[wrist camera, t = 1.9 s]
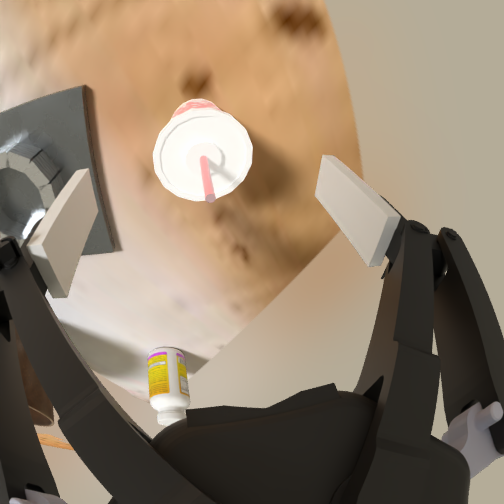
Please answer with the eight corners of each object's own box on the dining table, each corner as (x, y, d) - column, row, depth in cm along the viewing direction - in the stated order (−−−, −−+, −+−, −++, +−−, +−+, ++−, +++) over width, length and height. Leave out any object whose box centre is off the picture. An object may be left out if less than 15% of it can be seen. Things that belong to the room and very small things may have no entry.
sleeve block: (-43, 134, 14) (-61, 147, 11) (85, 84, 17) (70, 90, 15) (1, 259, 25) (-8, 278, 23) (114, 246, 29) (110, 267, 26)
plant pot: (75, 348, 40) (68, 432, 28) (12, 340, 36) (-2, 415, 24) (47, 291, 31) (23, 397, 19) (-22, 286, 26) (-53, 374, 15)
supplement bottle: (143, 359, 45) (146, 425, 36) (154, 342, 42) (157, 415, 33) (176, 365, 49) (184, 428, 39) (190, 349, 46) (199, 418, 36)
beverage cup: (186, 78, 20) (187, 105, 9) (244, 112, 23) (302, 177, 13) (150, 136, 22) (122, 223, 12) (207, 164, 25) (229, 265, 15)
